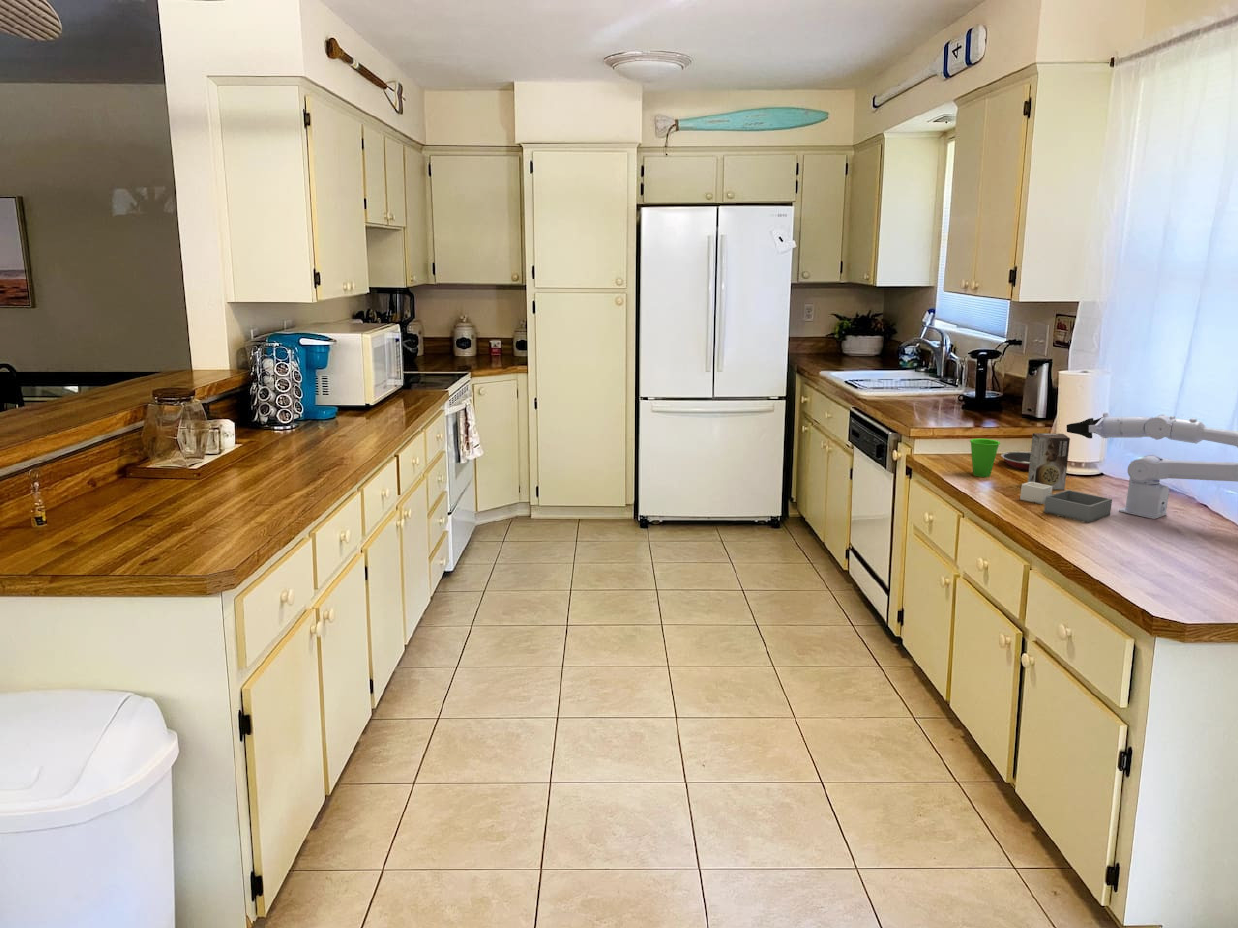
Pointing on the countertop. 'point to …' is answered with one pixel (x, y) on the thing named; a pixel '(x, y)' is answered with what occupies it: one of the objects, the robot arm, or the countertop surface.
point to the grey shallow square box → (1078, 505)
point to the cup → (983, 456)
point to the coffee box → (1049, 459)
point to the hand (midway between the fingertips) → (1073, 427)
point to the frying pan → (1017, 459)
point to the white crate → (1035, 492)
